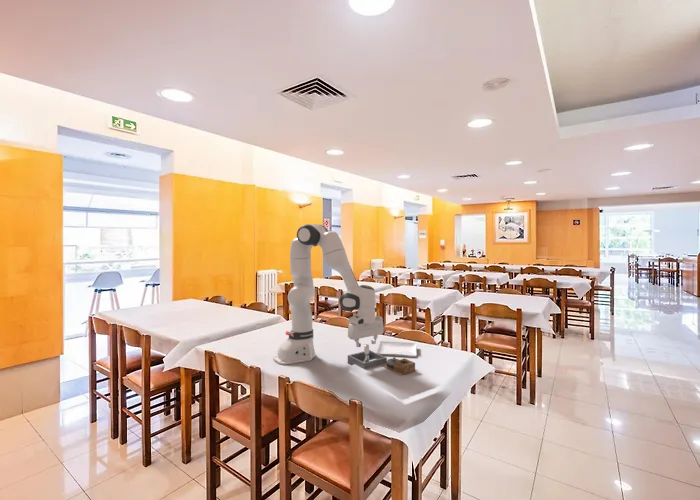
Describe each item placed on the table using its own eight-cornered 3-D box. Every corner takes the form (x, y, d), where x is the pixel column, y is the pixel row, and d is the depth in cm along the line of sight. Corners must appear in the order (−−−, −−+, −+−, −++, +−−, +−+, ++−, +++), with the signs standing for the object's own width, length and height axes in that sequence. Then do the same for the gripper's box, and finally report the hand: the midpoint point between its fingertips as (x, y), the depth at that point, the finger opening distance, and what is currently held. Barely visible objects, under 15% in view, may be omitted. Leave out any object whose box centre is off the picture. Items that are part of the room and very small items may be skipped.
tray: (364, 372, 159) (364, 363, 159) (347, 363, 171) (347, 355, 170) (386, 365, 167) (386, 357, 167) (369, 357, 178) (369, 350, 178)
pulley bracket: (401, 378, 151) (401, 366, 151) (381, 368, 163) (381, 357, 162) (417, 373, 156) (417, 362, 156) (396, 364, 168) (396, 353, 168)
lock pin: (366, 364, 167) (366, 346, 167) (363, 362, 169) (363, 344, 169) (370, 362, 168) (369, 345, 168) (367, 361, 170) (367, 344, 170)
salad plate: (416, 361, 173) (416, 355, 173) (375, 359, 177) (375, 352, 177) (416, 348, 194) (416, 342, 194) (380, 346, 198) (380, 340, 198)
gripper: (378, 314, 176) (378, 340, 177) (346, 319, 165) (345, 347, 165) (386, 316, 171) (386, 343, 172) (353, 321, 160) (353, 350, 160)
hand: (366, 345), depth 169 cm, fingers open, 8 cm apart
